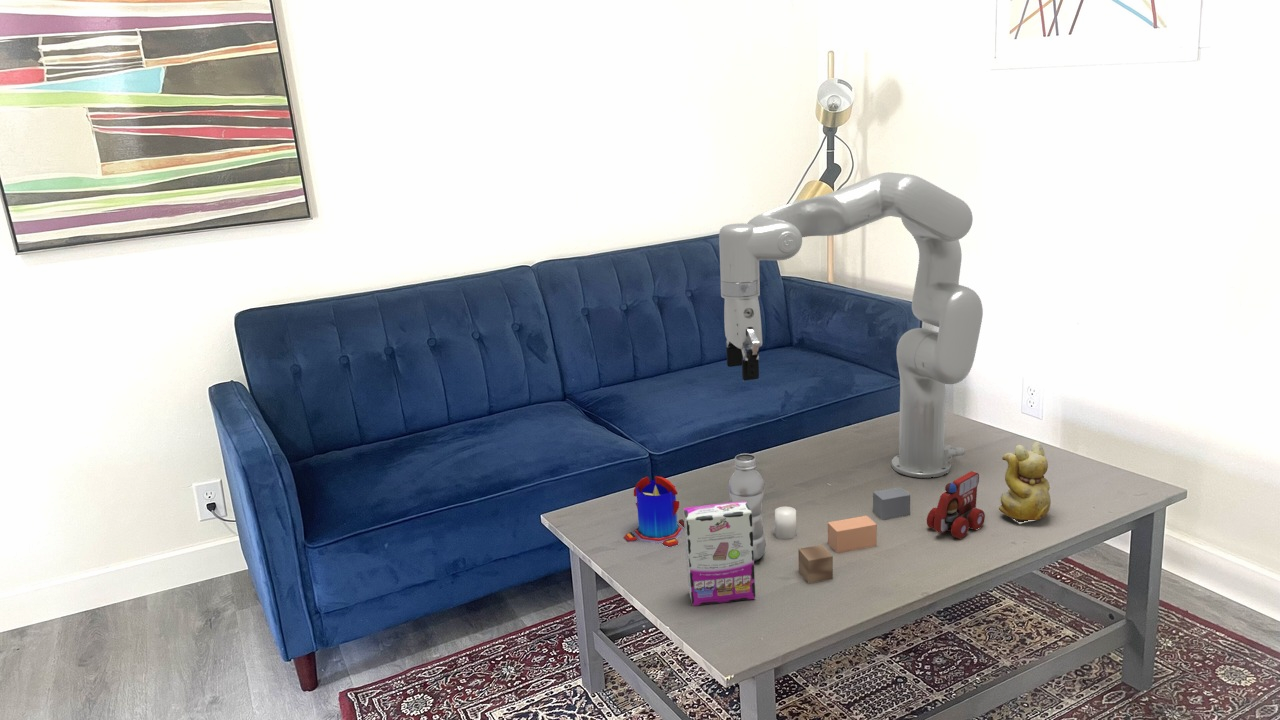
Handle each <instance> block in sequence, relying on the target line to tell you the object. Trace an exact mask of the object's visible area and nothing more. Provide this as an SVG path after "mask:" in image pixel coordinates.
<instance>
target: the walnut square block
mask: <svg viewBox="0 0 1280 720" xmlns="http://www.w3.org/2000/svg"><path fill="white" fill-rule="evenodd" d="M797 551H798V555H797V556H798V573H800V575H801V576H802V577H803V578H804V579H805V581H806V582H807V583H808V584H814V583H818V582H819V583H820V582H822V581H828V580H833V578H834V576H833V575H834V574H833V573H834V571H833V570H834V569H833V568H834V557H833V555H832V554H831V552H829V551H828V549H826V547H824V545H822V544H819V545H813V546H808V547H802V548H798V550H797Z"/></svg>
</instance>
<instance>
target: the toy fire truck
mask: <svg viewBox="0 0 1280 720" xmlns="http://www.w3.org/2000/svg"><path fill="white" fill-rule="evenodd" d="M979 483H980V474H979V473H978V472H975V471H969V472H967V473H966V474H964V475H962V476H960V477H958V478H956V479H954V480H953V481H952V482H948V483H946V485H945V486H944V492H943V493H941V495H940V497H939V500H938V503H937V506H936V507H933V508H931V509H930V511H929V512H928V514H927V516H926V526H927V527H928V528H930V529H931V530H934V532H935V531H936V532H938V533H939V534H944V533H945V532H947V531H950V533H951V535H952V537H954V538H956V539H958V540H959V539H960V538H961V539H963V538H965V536H966V535H967V534H968V531H969V529H971V530H973V529H974V531H977V530H976V529H978V528H980V527H981V528H982V526H983V525H984V523H985V518H986V513H985V511H984V510H983V509H980V508H979V507H978V508H977V498H978V497H977V496H978V495H977V494H978V485H979ZM981 528H980V529H981ZM978 530H979V529H978Z"/></svg>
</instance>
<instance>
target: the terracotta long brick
mask: <svg viewBox="0 0 1280 720" xmlns="http://www.w3.org/2000/svg"><path fill="white" fill-rule="evenodd" d="M877 528H878V524H877V523H876V522H875V521H874V520H872V519H871V517H869V516H868V515H862V516H857V517H851V518H850V517H849V518H845V519H840V520H834V521H829V522H827V544H828V545H829V546H830V547H831V548H832V549H833V551H834V552H836V553H837V554H839V553H844V552H849V551H854V550H861V549H864V548H866V549H867V548H870V547H871V548H872V547H875V546H877V545H878V544H877V542H878V541H877V536H878V535H877V534H878V531H877V530H878V529H877Z"/></svg>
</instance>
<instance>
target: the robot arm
mask: <svg viewBox="0 0 1280 720" xmlns="http://www.w3.org/2000/svg"><path fill="white" fill-rule="evenodd" d="M888 217H893V218H900V220H901V222H902V225H903V226H904V227H905V229H906V230H907V231H908V232H909V233H910V234H911V236H912V237H913V239H914V241H915V242H916V245H917V248H918V267H917V271H916V276H915V283H914V290H913V295H912V301H911V311H912V314H913V315H914V317H915V318H917V320H919V321H921V322H924V323H926V324H929V325H931V326H934V327H937V328H938V331H936V330H932V329H929V328H925V327H915V328H912V329H908V330H907V331H906V332H904V333H903V334H902V335H901V336H900V339H899V340H898V343H897V345H896V362H897V367H898V374H899V385H900V386H899V388H900V389H899V392H900V393H899V394H900V395H899V396H900V397H899V430H898V433H899V434H898V435H899V436H898V437H899V439H898V440H899V441H898V454H897V455H895V456H894V457H893V458H892V459H891V468H892V469H893V470H894V471H896V472H897V473H898V474H900V475H903V476H907V477H911V478H919V479H930V478H931V477H933V478H937V477H938V476H939V477H942V476H944V474H945V475H947V474H948V473H950V471H951V468H952V467H951V466H952V464H951V461H950V459H952V457H953V458H954V457H956V458H957V457H959V456H960V457H961V456H963V455H964V454H965V451H964V448H963V447H962V446H959V447H958V446H957V447H952V445H951V444H948V445H945V430H946V429H945V427H946V426H945V423H946V402H947V393H946V392H947V391H946V390H947V389H946V385H956V384H959V383H960V382H962V381H963V380H965V379H966V378H967V376H969V373H970V372H971V370H972V367H973V364H974V361H975V357H976V352H977V347H978V341H979V337H980V333H981V327H982V322H983V312H984V309H983V304H982V300H981V298H980V296H979V294H978V293H977V292H976V291H975V290H973V289H971V288H969V286H968V287H967V286H966V285H965V286H964V285H961V284H959V283H960V282H959V281H960V274H961V266H962V246H961V243H960V241H959V240H961V239H963V238H964V237H965V236H967V234H969V232H970V230H971V227H972V225H973V212H972V210H971V208H970V206H969V205H968V203H966V202H965V201H964V200H963V199H961V198H959V197H957V196H956V195H954V194H952V193H950V192H948V191H946V190H945V189H943V188H941V187H939V186H937V185H936V184H934V183H932V182H930V181H927V180H926V179H924V178H922V177H920V176H917V175H914V174H909V173H899V172H882V173H878V174H875V175H873V176H870V177H868V178H865V179H863V180H860V181H857V182H855V183H852V184H850V185H847V186H845V187H843V188H840V189H837V190H835V191H833V192H832V191H831V192H829V193H826V194H821V195H817V196H813V197H810V198H806V199H803V200H798V201H795V202H791V203H787V204H784V205H780V206H778V207H775V208H773V209H770V210H768V211H765V212H762V213H761V214H757V215H756V216H754V217H753V218H751V219H750V220H749V221H748V222H747V223H743V222H741V223H731V224H730V223H729V224H727V225H724V226H722V227H721V228H720V230H719V233H718V242H719V270H720V296H721V298H723V299H724V302H723V303H724V305H723V306H724V307H723V309H724V311H723V313H724V314H723V317H724V319H723V320H724V323H723V324H724V335H725V338H726V342H725V346H726V366H727V367H728V368H730V367H731V368H732V367H739V366H741V376H742V377H741V378H742V380H744V381H753V380H758V379H759V378H760V369H759V368H760V367H759V366H760V364H759V360H760V356H759V354H760V351H759V349H760V347H762V346H763V330H762V318H761V308H760V302H759V297H760V296H761V294H760V293H761V292H760V291H761V289H760V288H761V286H760V285H761V284H760V261H786V260H788V259H791V258H793V257H795V256H796V255H797V254H798V253H799V251H801V250H800V249H801V247H802V245H803V238H807V237H808V238H809V237H831V236H832V237H833V236H838V235H839V236H840V235H844V234H847V233H850V232H853V231H855V230H857V229H860V228H861V227H864V226H867V225H869V224H871V223H873V222H876V221H879V220H881V219H884V218H888ZM947 472H948V473H947ZM946 473H947V474H946Z"/></svg>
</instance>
